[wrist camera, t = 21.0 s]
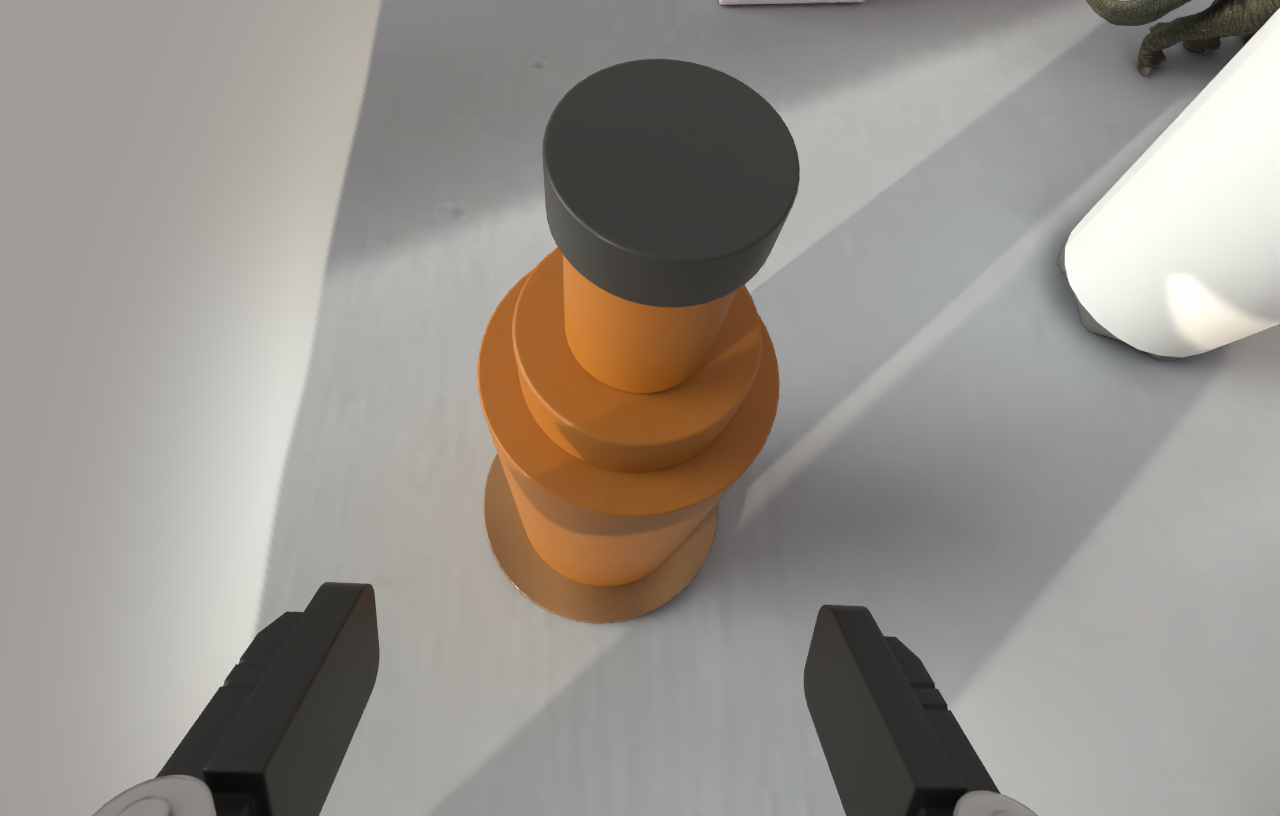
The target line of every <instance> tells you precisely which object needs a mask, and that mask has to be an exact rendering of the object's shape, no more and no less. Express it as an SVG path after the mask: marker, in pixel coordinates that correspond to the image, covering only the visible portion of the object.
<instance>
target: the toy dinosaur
mask: <svg viewBox="0 0 1280 816" xmlns="http://www.w3.org/2000/svg"><path fill="white" fill-rule="evenodd" d="M1086 1H1087V2H1088V4H1089V5H1090V6H1091V8H1092V9H1093V10H1094V11H1095V12H1096V13H1097V14H1098V15H1100V16H1101V17H1102V18H1104V19H1105V20H1107V21H1108V22H1110V23H1112V24H1115V25H1123V26H1139V25H1144V24H1147V23H1150V22H1153V21H1155V20H1157V19H1159V18H1161V17H1162V16H1164V15H1166V14H1167V13H1169V12H1170V11H1172V10H1174V9H1176V8H1178V7H1180V6H1182V5H1184V4H1185V3H1187V2H1189V1H1191V0H1130V1H1118V0H1086ZM1279 8H1280V0H1215V1H1214V2H1213V3H1212V4H1211V6H1210V7H1209V8H1207V9H1206V10H1204V11H1202V12H1199V13H1197V14H1194V15H1190V16H1186V17H1180V18H1177V19H1174V20H1173V21H1171V22H1167V23H1157V24H1156V25H1154V26H1151V27H1150V28H1149V30H1150V31H1151V32H1150V33H1149V34H1148V35H1146V36H1145V38H1144V39H1143V41H1142V44H1141V48H1140V52H1139V57H1138V69H1139V71H1140V72H1141V74H1142V75H1144V76H1145V77H1146V76H1148V75H1149V74H1150V71H1151V69H1152V68H1153V67H1156V68H1163V67H1164V66H1165V64H1166V57H1165V55H1164V54H1163V52H1162V50H1163V49H1165V48H1168V47H1170V46H1173V45H1175V44H1176V43H1178V42H1180V41H1183V44H1184V46H1185V47H1186V48H1187V49H1189V50H1192V51H1203V53H1206V54H1207V53H1208V52H1209V51H1211V50H1215V49H1218V48H1219V47H1220V45H1221V41H1220V40H1219V39H1220V38H1221V37H1228V36H1243V35H1244V37H1245V39H1246V40H1247V42H1248V41H1249V40H1250V39H1251V38H1252V37H1253V36H1254V35H1255V34H1256V33H1257V32H1258V30H1259V29H1260V28H1261V27H1262V26H1263V25H1264V24H1265V23H1266V22H1267V21H1268V20H1269V19H1270V18H1271V17H1272V15H1273V14H1274V13H1275V12H1276V11H1277V10H1278V9H1279Z"/></svg>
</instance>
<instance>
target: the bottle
mask: <svg viewBox="0 0 1280 816" xmlns="http://www.w3.org/2000/svg"><path fill="white" fill-rule="evenodd" d="M543 170H544V186H545V203H546V213H547V220H548V224H549V227H550V231H551V234H552V236H553V238H554V240H555V242H556V244H557V246H558V247H557V248H556V249H555V250H554V251H552V252H551V253H550V254H548V255H547V256H546V257H545V258H544V259H543V260H542V261H541V262H540V263H539V264H538V265H537V267H536V268H534V269H533V270H532V271H531V272H529V273H528V274H527V275H525V276H524V277H523V278H522V279H521V280H520V281H519V282H518V283H517V284H516V285H515V286H514V287H513V288H512V289H511V290H510V291H509V292H508V293H507V294H506V296H505V297H504V298H503V300H502V301H501V302H500V304H499V305H498V306H497V308H496V310H495V312H494V314H493V315H492V317H491V319H490V321H489V323H488V326H487V328H486V331H485V333H484V336H483V339H482V343H481V348H480V352H479V358H478V371H477V377H478V391H479V397H480V401H481V405H482V410H483V413H484V416H485V419H486V422H487V424H488V427H489V430H490V433H491V436H492V438H493V441H494V444H495V447H496V450H497V453H498V455H499V458H500V461H501V464H502V467H503V469H504V472H505V475H506V478H507V481H508V483H509V486H510V489H511V492H512V495H513V497H514V500H515V503H516V506H517V509H518V511H519V514H520V517H521V520H522V523H523V526H524V528H525V531H526V534H527V536H528V538H529V540H530V542H531V544H532V546H533V548H534V549H535V550H536V552H537V553H538V554H539V556H540V557H541V558H542V559H543V560H544V561H545V562H546V563H547V564H548V565H549V566H550V567H552V568H553V569H554V570H555V571H557V572H558V573H560V574H562V575H563V576H565V577H567V578H569V579H572V580H574V581H577V582H580V583H583V584H587V585H593V586H617V585H623V584H627V583H630V582H634V581H636V580H638V579H641V578H643V577H645V576H647V575H648V574H650V573H652V572H653V571H655V570H656V569H657V568H658V567H660V566H661V565H662V564H663V563H664V562H665V561H666V560H667V559H668V558H669V557H670V556H671V554H672V553H673V552H674V551H675V550H676V549H677V548H678V547H679V545H680V544H681V543H682V542H683V541H684V540H685V539H686V537H687V536H688V535H689V534H690V533H691V532H692V531H693V530H694V528H695V527H696V526H697V525H698V524H699V523H700V522H701V520H702V519H703V518H704V517H705V516H706V515H707V514H708V513H709V511H710V510H711V509H712V508H713V507H714V506H715V505H716V503H717V502H718V501H719V500H720V499H721V498H722V497H723V495H724V494H725V493H726V492H727V491H728V490H729V489H730V488H731V486H732V485H733V484H734V483H735V482H736V481H737V480H738V478H739V477H740V476H741V475H742V474H743V473H744V472H745V471H746V469H747V468H748V467H749V466H750V465H751V464H752V462H753V461H754V459H755V458H756V457H757V455H758V454H759V452H760V451H761V449H762V448H763V446H764V444H765V442H766V440H767V438H768V435H769V433H770V431H771V428H772V425H773V422H774V419H775V416H776V411H777V405H778V399H779V372H778V364H777V359H776V355H775V351H774V347H773V344H772V341H771V339H770V336H769V334H768V331H767V329H766V327H765V325H764V323H763V321H762V320H761V318H760V316H759V314H758V313H757V310H756V307H755V305H754V302H753V300H752V297H751V295H750V294H749V292H748V290H747V288H746V287H745V285H744V284H746V283H747V282H748V281H749V280H750V279H751V278H752V277H753V276H754V275H755V274H756V273H757V272H758V271H759V270H760V268H761V267H762V266H763V265H764V263H765V261H766V259H767V258H768V256H769V254H770V252H771V250H772V248H773V246H774V244H775V242H776V240H777V238H778V235H779V233H780V231H781V229H782V227H783V225H784V223H785V221H786V219H787V217H788V214H789V212H790V210H791V208H792V206H793V203H794V201H795V198H796V195H797V191H798V185H799V160H798V154H797V150H796V147H795V144H794V140H793V138H792V136H791V134H790V132H789V130H788V128H787V126H786V125H785V123H784V122H783V120H782V119H781V117H780V116H779V114H778V113H777V112H776V111H775V110H774V109H773V107H772V106H771V105H770V104H769V103H768V102H767V101H766V100H765V99H764V98H762V97H761V96H760V95H759V94H758V93H756V92H755V91H754V90H752V89H751V88H750V87H748V86H747V85H745V84H744V83H742V82H740V81H739V80H737V79H735V78H733V77H731V76H729V75H727V74H725V73H723V72H720V71H718V70H715V69H712V68H709V67H707V66H703V65H699V64H695V63H691V62H685V61H679V60H668V59H645V60H637V61H630V62H625V63H621V64H617V65H614V66H611V67H608V68H605V69H602V70H600V71H598V72H596V73H594V74H592V75H590V76H588V77H587V78H585V79H584V80H582V81H581V82H579V83H578V84H577V85H575V86H574V87H573V88H572V89H571V90H570V91H569V92H567V94H566V95H565V96H564V97H563V98H562V100H561V101H560V102H559V103H558V105H557V106H556V108H555V110H554V111H553V113H552V115H551V117H550V119H549V122H548V124H547V127H546V130H545V135H544V139H543Z"/></svg>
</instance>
